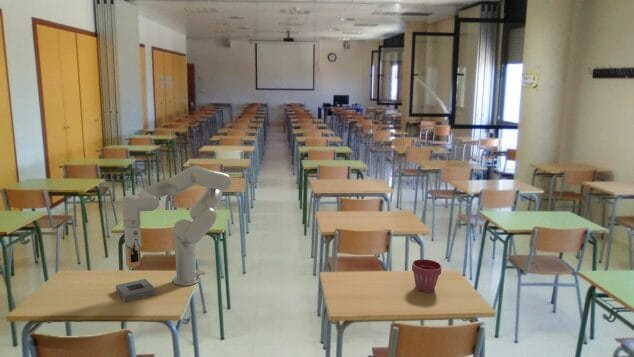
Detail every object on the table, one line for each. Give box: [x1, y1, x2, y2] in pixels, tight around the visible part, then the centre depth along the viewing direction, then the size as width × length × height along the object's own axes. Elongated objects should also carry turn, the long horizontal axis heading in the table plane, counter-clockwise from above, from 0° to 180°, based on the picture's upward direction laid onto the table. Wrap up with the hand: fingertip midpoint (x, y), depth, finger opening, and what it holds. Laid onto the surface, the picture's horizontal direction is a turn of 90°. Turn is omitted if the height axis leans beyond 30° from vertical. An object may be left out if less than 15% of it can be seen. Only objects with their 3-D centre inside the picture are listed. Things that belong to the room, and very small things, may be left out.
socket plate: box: [115, 278, 157, 303], centre depth 240 cm, size 14×14×3 cm
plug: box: [125, 245, 141, 269], centre depth 236 cm, size 5×4×9 cm
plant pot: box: [411, 258, 442, 293], centre depth 253 cm, size 14×14×13 cm
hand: (133, 259), depth 237 cm, fingers closed on plug, 4 cm apart
